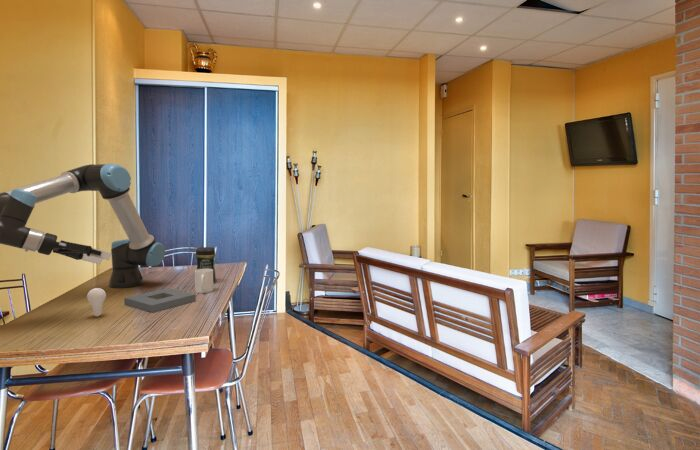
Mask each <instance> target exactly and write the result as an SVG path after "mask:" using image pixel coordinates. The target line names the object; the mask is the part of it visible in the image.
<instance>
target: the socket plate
mask: <svg viewBox="0 0 700 450" xmlns="http://www.w3.org/2000/svg"><path fill="white" fill-rule="evenodd" d="M196 294H197V293H196ZM196 294H195V293H192V292H187V291H181V290H177V289H173V288H168V287H166V288H162V289H158V290H154V291H150V292H145V293H140V294H135V295H132V296H127V297H124V298H123V299H124V302H123V303H124V306H127V307H131V308H135V309H137V310H141V311H144V312H148V313H150V314H151V313H152V314H153V313H157V312H161V311H163V310H164V311H166V310H168V309H172V308H175V307H178V306H182V305H186V304H190V303H194V302H196V301H197V300H196V299H197V297H196Z"/></svg>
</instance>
